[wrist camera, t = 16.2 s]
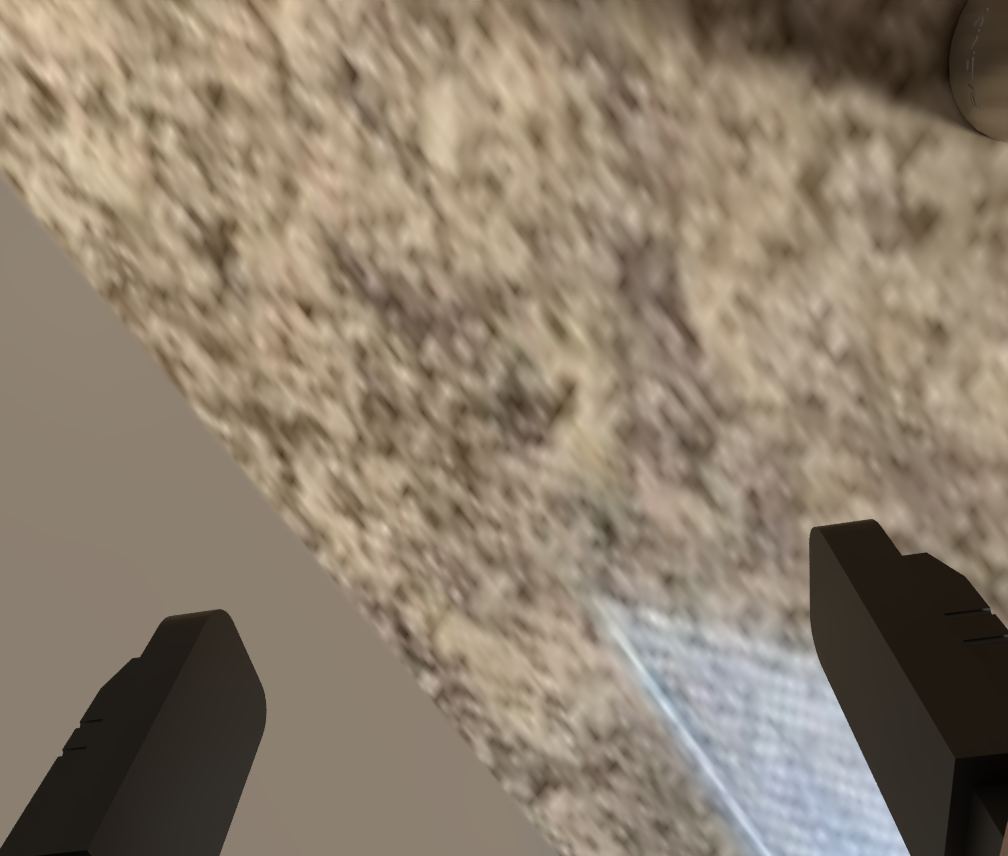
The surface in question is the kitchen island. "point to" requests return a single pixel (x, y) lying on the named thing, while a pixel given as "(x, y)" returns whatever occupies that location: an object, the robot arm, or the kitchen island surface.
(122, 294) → the kitchen island surface
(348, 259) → the kitchen island surface
